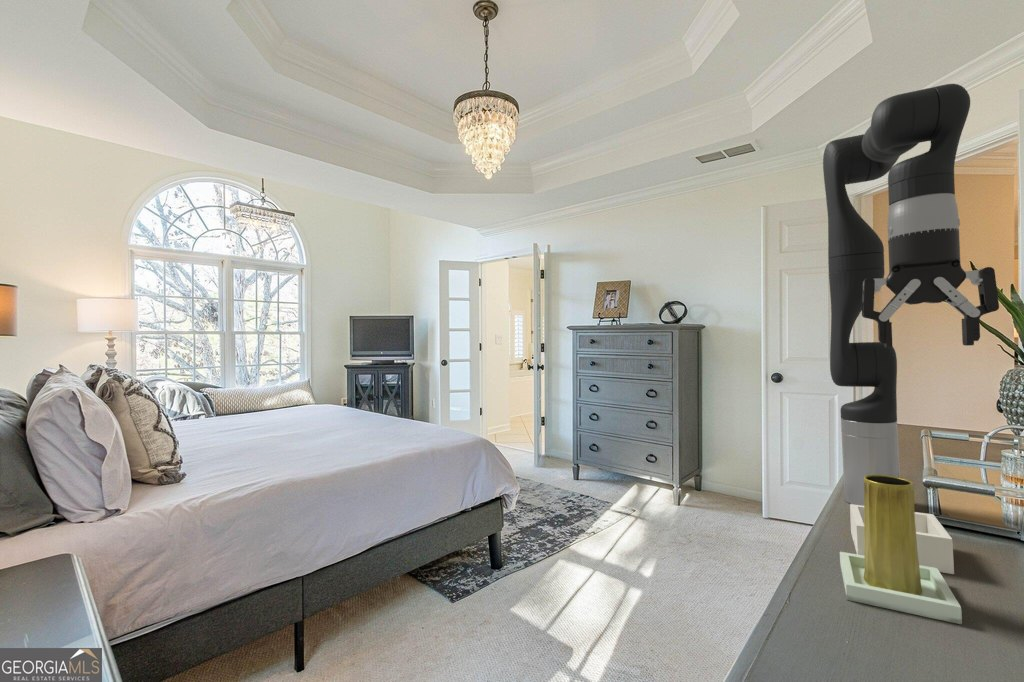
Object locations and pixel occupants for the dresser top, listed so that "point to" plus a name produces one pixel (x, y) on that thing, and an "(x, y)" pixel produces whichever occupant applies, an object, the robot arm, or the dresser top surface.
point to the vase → (890, 534)
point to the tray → (929, 604)
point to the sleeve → (929, 536)
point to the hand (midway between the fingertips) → (926, 346)
